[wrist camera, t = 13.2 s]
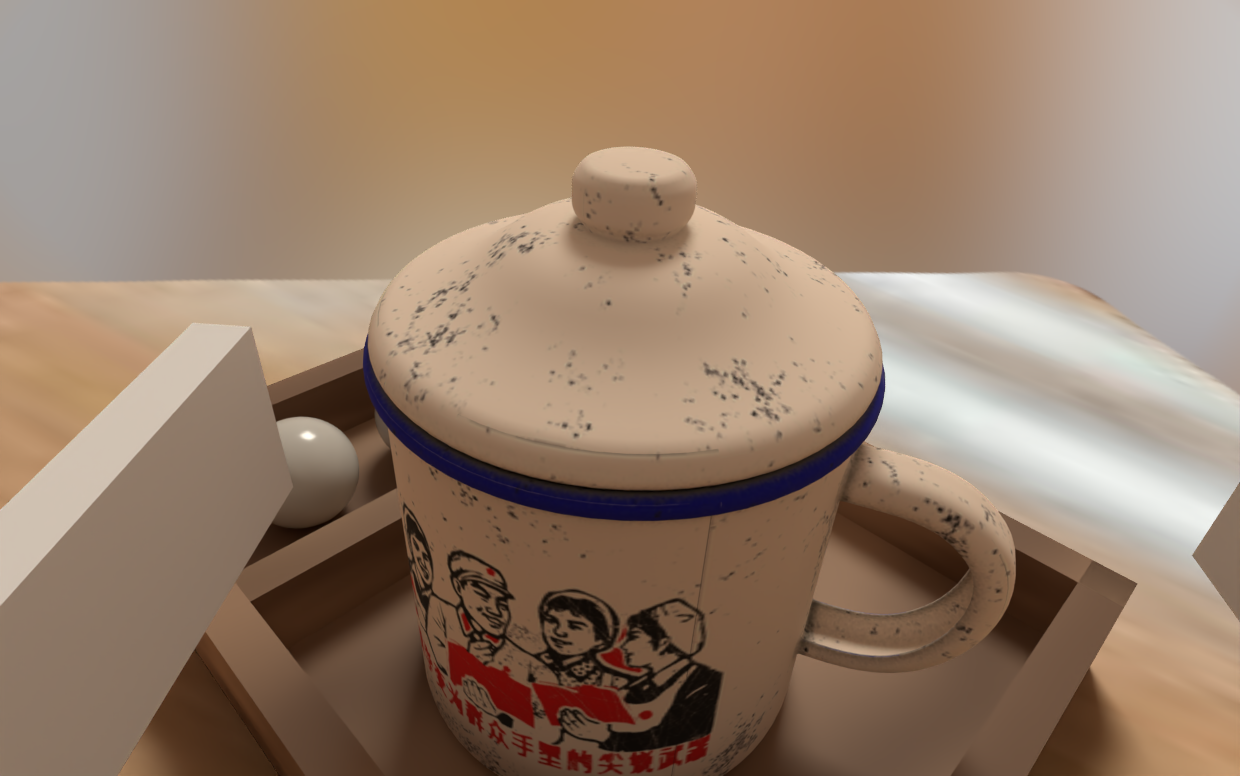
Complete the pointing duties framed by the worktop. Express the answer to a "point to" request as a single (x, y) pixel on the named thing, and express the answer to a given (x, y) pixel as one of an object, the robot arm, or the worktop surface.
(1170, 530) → the worktop surface
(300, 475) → the pebble
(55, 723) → the robot arm
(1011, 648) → the parts tray
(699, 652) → the teacup with lid
